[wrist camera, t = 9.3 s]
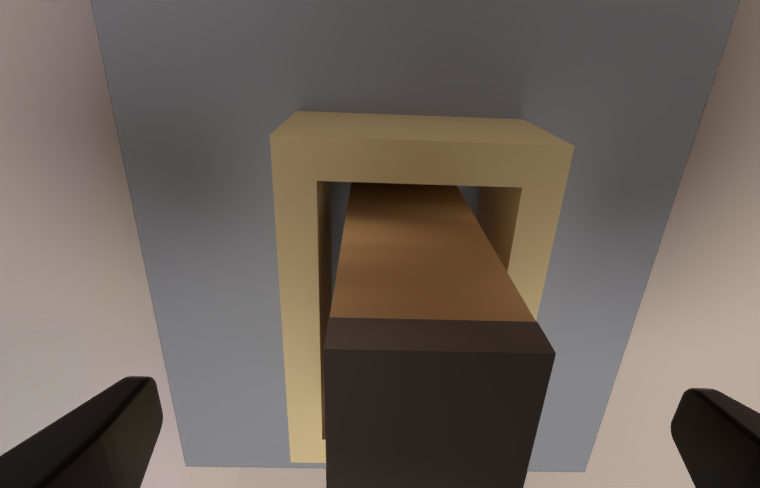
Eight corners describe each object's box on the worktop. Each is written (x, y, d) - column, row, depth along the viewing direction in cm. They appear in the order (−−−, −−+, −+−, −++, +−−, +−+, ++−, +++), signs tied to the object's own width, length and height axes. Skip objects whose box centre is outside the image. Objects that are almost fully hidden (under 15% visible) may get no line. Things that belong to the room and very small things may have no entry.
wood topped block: (350, 337, 13) (329, 613, 7) (352, 173, 11) (323, 348, 5) (434, 339, 13) (492, 614, 7) (452, 176, 11) (555, 353, 5)
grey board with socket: (196, 442, 16) (145, 558, 13) (97, -91, 10) (-69, -172, 6) (573, 448, 17) (629, 562, 13) (727, -60, 10) (929, -119, 6)
